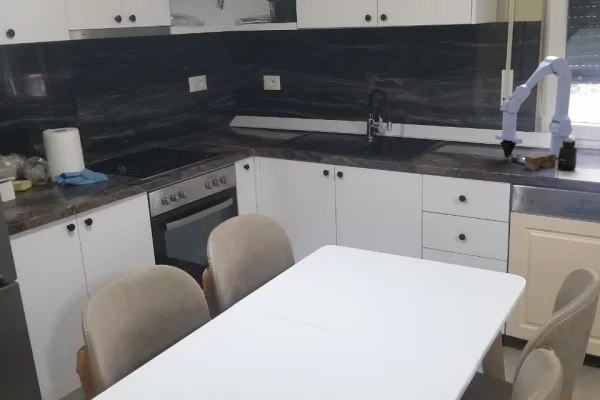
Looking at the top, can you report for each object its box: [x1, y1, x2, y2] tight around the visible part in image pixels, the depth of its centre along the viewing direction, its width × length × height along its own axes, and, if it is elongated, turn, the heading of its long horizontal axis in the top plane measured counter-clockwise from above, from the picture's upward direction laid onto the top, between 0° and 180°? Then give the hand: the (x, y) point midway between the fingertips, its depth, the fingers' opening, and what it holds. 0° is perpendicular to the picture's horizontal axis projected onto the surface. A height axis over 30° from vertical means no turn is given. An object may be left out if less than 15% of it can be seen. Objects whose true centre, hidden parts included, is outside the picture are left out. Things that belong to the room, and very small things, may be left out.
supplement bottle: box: [557, 139, 578, 172], centre depth 254 cm, size 7×7×12 cm
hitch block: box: [524, 152, 557, 171], centre depth 261 cm, size 12×5×5 cm, turn 115°
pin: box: [508, 153, 525, 165], centre depth 269 cm, size 9×6×3 cm, turn 25°
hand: (507, 157), depth 277 cm, fingers closed
